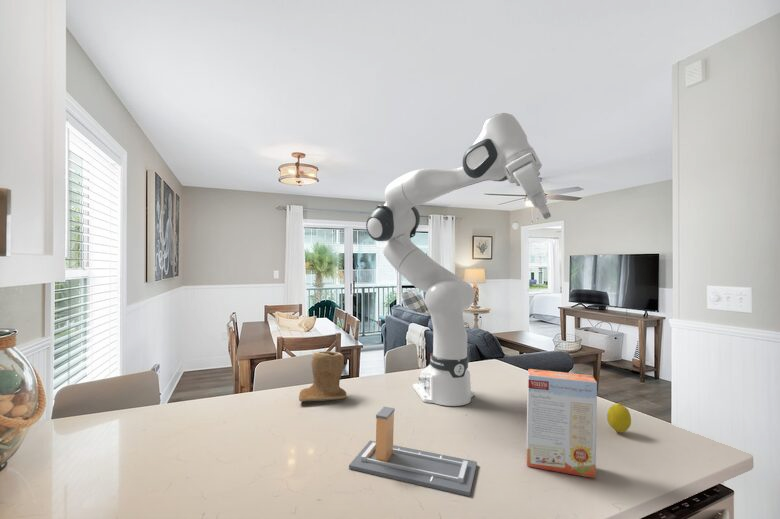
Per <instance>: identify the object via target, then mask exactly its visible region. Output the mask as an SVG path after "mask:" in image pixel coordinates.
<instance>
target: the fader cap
mask: <svg viewBox="0 0 780 519" xmlns="http://www.w3.org/2000/svg"><path fill="white" fill-rule="evenodd" d="M395 411H396V410H395V407H391V406H389V407H388V406H383V407H382V408H381V409H380V411H378V412H377V414H375V418H376V421H375V422H376V424H375V425H376V427H375V428H376V429H375V442H376V460H378V461H383V462H387V461H388V459H389V458H390V456H391V455H392V453H393V445H394V426H395V424H394V422H395V419H394V418H395Z"/></svg>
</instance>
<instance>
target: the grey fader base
mask: <svg viewBox="0 0 780 519" xmlns="http://www.w3.org/2000/svg"><path fill="white" fill-rule="evenodd" d="M477 466H478V461H476V460H471V459H466V458H460V457H456V456H450V455H445V454H440V453H435V452H432V451H431V452H429V451H426V450H425V451H424V450H419V449H415V448H410V447H404V446H399V445H397V444H396V445H395V444H393V453H392V455H391V456H390V458H389V459H388V461H387V462H383V461H378V460H376V440H369V441H368V442H367V443H366V444H365V445H364V447H363V448H362V449H361V451H359V453H358V454H357V455H356V456H355V457H354V458H353V460H352V461H351V462H350V463H349V465H348V469H349V470H354V471H356V472H357V471H358V472H362V473H365V474H370V475H374V476H375V475H376V476H379V477H383V478H388V479H392V480H396V481H401V482H405V483H410V484H414V485H418V486H422V487H427V488H431V489H436V490H441V491H444V492H448V493H453V494H457V495H461V496H466V497H471V494H472V493H471V491H472V487H473V484H474V480H475V475H476V471H477Z"/></svg>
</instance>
